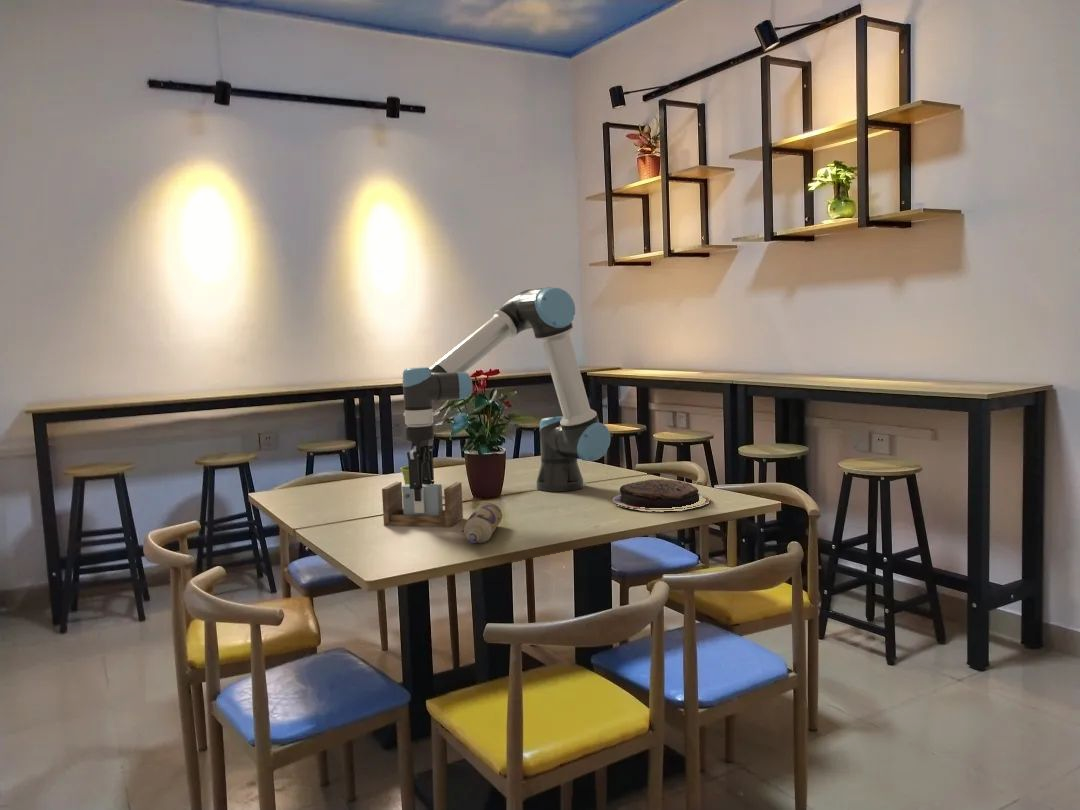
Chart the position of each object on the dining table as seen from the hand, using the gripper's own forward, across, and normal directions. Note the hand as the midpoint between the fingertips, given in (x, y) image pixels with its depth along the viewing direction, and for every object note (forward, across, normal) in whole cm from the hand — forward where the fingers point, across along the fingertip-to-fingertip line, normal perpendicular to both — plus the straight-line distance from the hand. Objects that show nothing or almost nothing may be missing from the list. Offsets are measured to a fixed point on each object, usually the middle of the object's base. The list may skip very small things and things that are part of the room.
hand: (423, 510), depth 228 cm
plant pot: (+4, -37, -16) cm, 41 cm away
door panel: (+2, 0, 0) cm, 2 cm away
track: (+3, 0, 0) cm, 3 cm away
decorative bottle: (+4, +15, +20) cm, 26 cm away
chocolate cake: (+4, -29, +62) cm, 68 cm away
